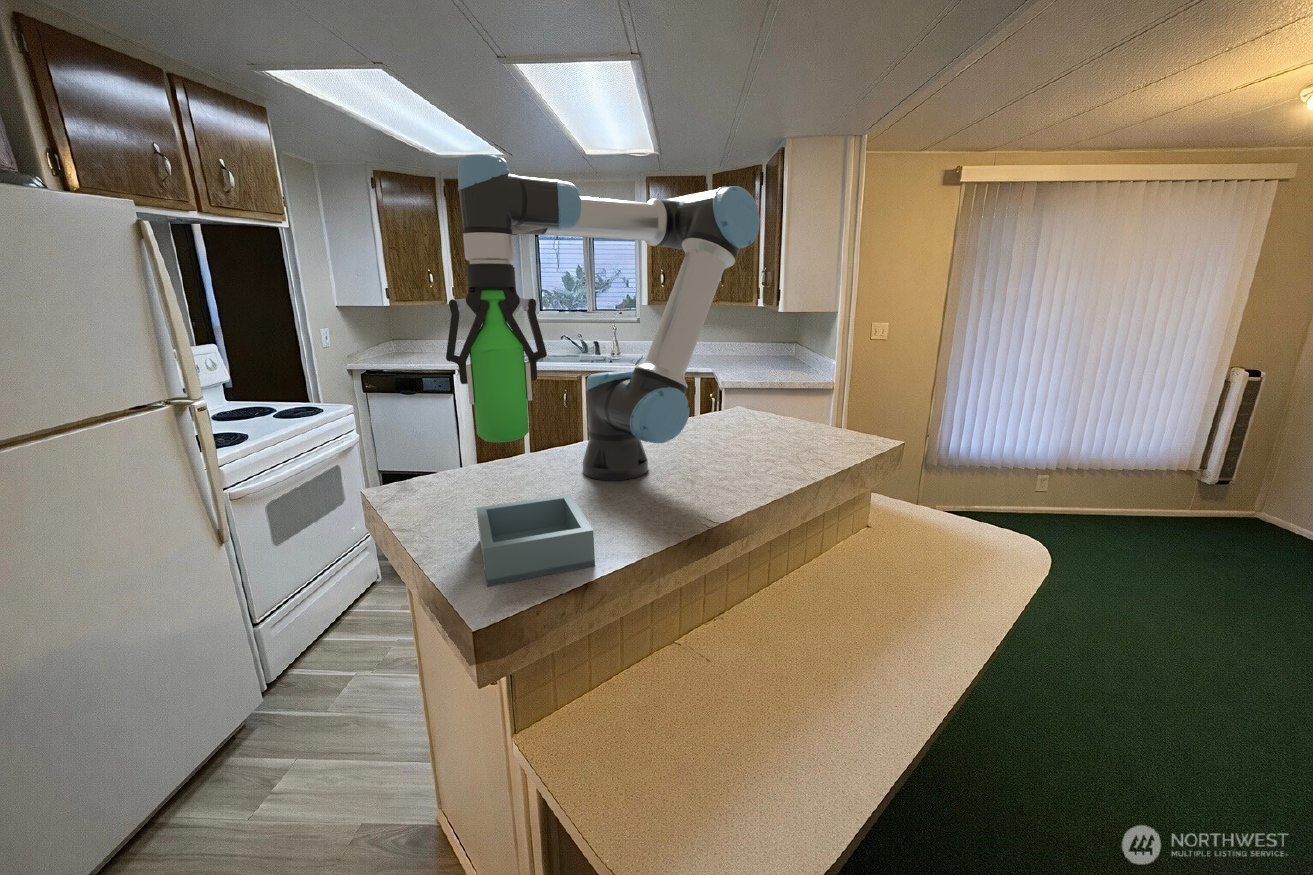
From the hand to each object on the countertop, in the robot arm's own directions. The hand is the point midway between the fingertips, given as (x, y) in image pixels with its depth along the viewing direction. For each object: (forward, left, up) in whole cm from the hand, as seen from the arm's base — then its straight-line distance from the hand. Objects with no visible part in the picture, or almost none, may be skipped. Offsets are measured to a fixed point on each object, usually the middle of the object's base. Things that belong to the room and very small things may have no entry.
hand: (501, 400), depth 94 cm
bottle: (0, 0, -7) cm, 7 cm away
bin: (-2, +13, -23) cm, 26 cm away
